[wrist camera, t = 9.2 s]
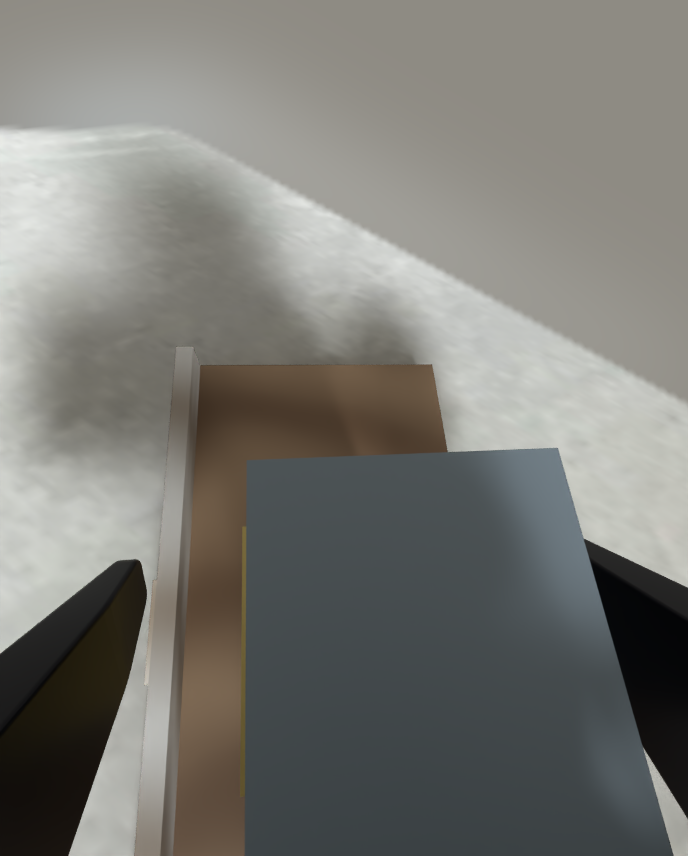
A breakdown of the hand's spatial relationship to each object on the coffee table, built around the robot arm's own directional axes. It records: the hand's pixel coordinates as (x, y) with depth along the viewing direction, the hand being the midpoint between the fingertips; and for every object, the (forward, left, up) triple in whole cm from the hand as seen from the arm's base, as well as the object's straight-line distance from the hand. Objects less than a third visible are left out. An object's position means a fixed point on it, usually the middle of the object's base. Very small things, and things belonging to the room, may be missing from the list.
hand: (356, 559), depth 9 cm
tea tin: (-1, -1, -8) cm, 8 cm away
